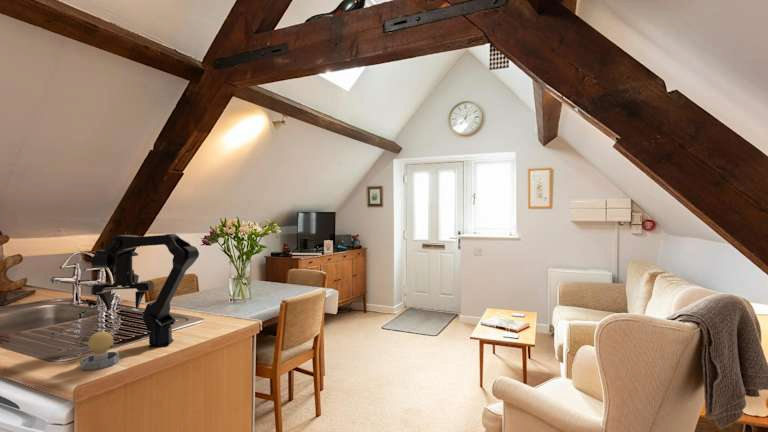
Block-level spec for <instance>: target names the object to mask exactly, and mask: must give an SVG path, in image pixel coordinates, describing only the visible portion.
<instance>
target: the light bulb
mask: <svg viewBox="0 0 768 432" xmlns="http://www.w3.org/2000/svg"><path fill="white" fill-rule="evenodd" d="M87 341H88V342H87V344H88V345H87V346H88V348H89V349H90V351H91V352H93V353H94V354H93V355H94V362H100V361H103V360H107V359H108V352H109V351H108V350H109V348H110V347H111V346H112V344H113V342H114V341H113V336H112V334H111V333H110V332H108V331H98V332H95V333H93V334H92V335H91V336H90V337H89V339H88V340H87Z"/></svg>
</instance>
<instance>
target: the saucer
mask: <svg viewBox="0 0 768 432" xmlns="http://www.w3.org/2000/svg"><path fill="white" fill-rule="evenodd" d="M107 352H108V359H107V360H103V361H100V362H94V354H90V355H88V356H85V357H84V358H83V359H82V358H81V360H79V367H80V368H81V370H82V371H97V370H102V369H106V368H110V367H112V366H114V365H116V364H117V363H118V362H119V360H120V353H119V352H116V351H107Z"/></svg>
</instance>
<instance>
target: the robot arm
mask: <svg viewBox="0 0 768 432" xmlns="http://www.w3.org/2000/svg"><path fill="white" fill-rule="evenodd" d="M160 245H161V246H162V245H164V246H165V247H166V248H167V250H168V252H169V253H170V254H171V255H172V256H173V257H172V267H171V270H170V271H169V274H168V276H167V278H166V280H165V282H164V283H163V286H162V287H161V290H160V292H159V294H158V295H157V298H156V300H155V301H152V302H148V303H147V304H146V306H145V309H144V311H143V312H142V320H143V323H144V325H145V327H146V330H147V331H148V332H149V333H148V343H149V345H148V348H156V347H159V348H160V347H168V346H169V345H170V344H171V343H172V342H173V341H174V339H173V337H172V336H173V334H172V333H173V331H172V325H174V324H175V321H176V319H175V318H174V317H173V315H171V313H170V311H171V302H172V299H173V297H174V296H175V293H176V292H177V289H178V287H179V286H180V284H181V282H182V280H183V278H184V275H185V274H186V271H187V270H189V268H191V267H192V265H194V264H195V262H196V260H198V258H199V256H200V252H199V249H198V248H197V247H196V246H193V245H191V243H190V242H188V241H186V240H184V239H182V238H180V236H179V235H177V234H176V233H166V234H161V235H160V234H159V235H147V236H142V235H141V236H140V235H134V234H121V235H120V234H119V235H118V234H117V235H114V236H112V238H111V240H110V243H109V244H108V245H107V247H106V248H105V249H97V250H96V251H95V254H93V256H92V258H91V260H90V261H91V265H92V267H93V268H95V269H113V271H112V276H113V283H111V282H110V281H108V282H98V283H96V284H93V285H92V286H91V293H92V294H95V295H96V296H98V297H99V298H100V299H101V301H102V302H103V303H104V305H105V307H106V309H107V310H108V311H111V310H112V299H111V295H112V291H113V290H129V289H130V290H133V289H136V290H137V291H135V310H138V309H139V308H140V305H141V302H142V299H143V297H144V296H145V294H146V292H149V291H150V290H151V289H153V288H154V281H152V280H141V281H140V282H139V278H140V276H139V275H138V274H136V273H135V269H133V257H137V256H139V253H138V252H136V251H135V250H134V249H136V248H139V247H145V246H146V247H148V246H160Z"/></svg>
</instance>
